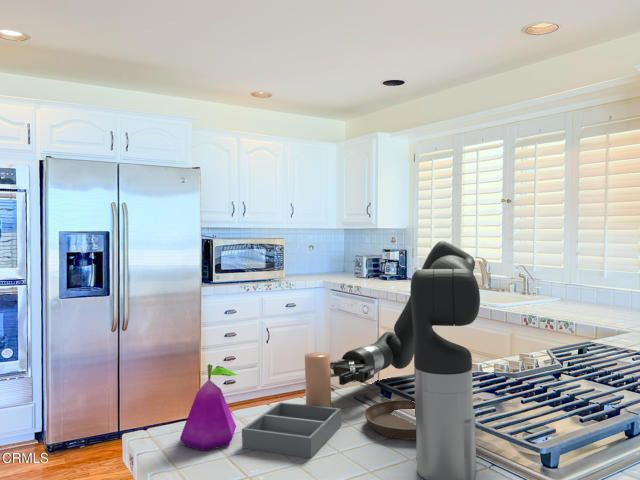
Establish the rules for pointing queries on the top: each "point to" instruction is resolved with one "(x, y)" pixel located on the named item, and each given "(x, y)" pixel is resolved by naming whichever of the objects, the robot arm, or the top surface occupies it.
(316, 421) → the divided storage tray
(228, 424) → the pear
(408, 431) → the object
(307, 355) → the peach pillar candle
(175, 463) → the top surface
